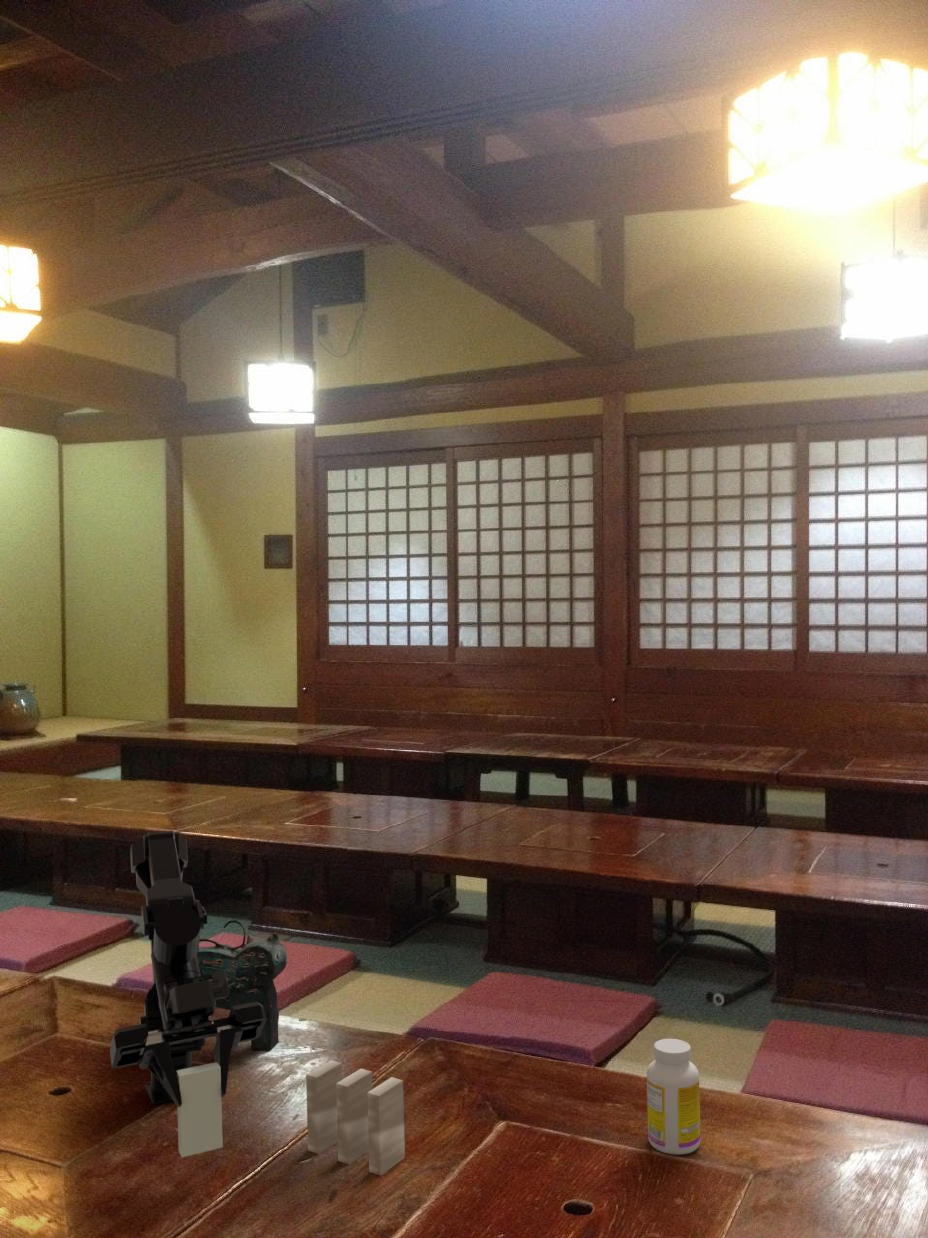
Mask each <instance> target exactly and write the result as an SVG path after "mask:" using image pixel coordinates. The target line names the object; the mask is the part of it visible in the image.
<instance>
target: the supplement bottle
mask: <svg viewBox="0 0 928 1238" xmlns="http://www.w3.org/2000/svg"><path fill="white" fill-rule="evenodd" d="M653 1056H654V1058H655V1060H653V1061H652V1062H650V1063H649V1065H648V1067H647V1070H646V1099H647V1104H646V1106H647V1136H648V1137H647V1138H648V1141H649V1143H650V1145H651V1146H652V1147H653V1148H654V1149H655V1150H657V1151H659V1152H662V1153H664V1154H669V1155H681V1156H682V1155H686V1154H687V1155H688V1154H690V1153H693V1152H694V1151H696V1150H697V1149H698V1148H699V1147H700V1143H701V1106H700V1105H701V1103H700V1102H701V1100H700V1074H699V1073H700V1072H699V1070H698V1068H697V1066H696V1065H695V1064H694V1063H692V1061H690V1060H691V1057H692V1049H691V1045H690V1044H689V1043H688V1042H687V1041H684V1040H682V1039H676V1038H664V1039H660V1040H657V1041H656V1042H654V1043H653Z"/></svg>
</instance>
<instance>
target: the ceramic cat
mask: <svg viewBox="0 0 928 1238" xmlns="http://www.w3.org/2000/svg"><path fill="white" fill-rule="evenodd" d="M232 923H233V924H234V923H236V924H238V925H240V927H241V928H242V930H243V939H242V943H241V944H240V945H238V946H232V945H228V944H222V943H219V942H218V941H215V940H212V939H209V938H200V941H199V943H200V942H201V943H202V942H209V943H211V944H214V945H211V946H199V950H198V953H197V960H198V964H199V969H200V974H201V976H202V977H203V980H204V981H207V980H209V975H210V974H212V973H215V972H221V971H225V973H226V977H227V980H228V986H229V995H228V996H227V997H226V998H222V999H216V1006H214V1007H213V1008H218V1009H223V1010H225V1011H226V1010H227V1011H230V1010H231V1008H232V1006H237V1005H242V1004H247V1003H253V1002H258V1003H260V1004H261V1005H262V1006H263V1007H264V1010H265V1014H266V1018H267V1020H266V1022H265V1025H264V1027H263V1029H262V1032H261V1034H260V1037H258V1038H257V1039H255V1040H250V1047H251V1050H252V1051H259V1050H263V1051H269V1052H270V1051H271V1050H273V1049H274V1048H275V1047H276V1046H277V1044H278V1043H279V1019H280V1011H279V1009H278V992H277V988H276V986H275V982H274V980H275V979H276V978H277V977H278V976H279V975H280V974H281V973H282V972H283V971H284V970H285V968H286V967H287V963H288V953H287V949H286V947H285V946H284V945H283V944H282V943H281V941H280V938H279V934H278V933H277V932H276V931H273V932H272V934H271V935H269V937H268V938H258V939H255V938H254V937H253V936H252V935H251V934H249V933H247V936H246V929H245V925H244V924H243V923H242V922H241V921H239V920H238V919H231V920H228V921H227V922H226V923H225V924H224V926H223V928H224V929H226V927H228V925H229V924H232ZM245 942H246V943H245Z"/></svg>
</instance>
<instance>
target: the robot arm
mask: <svg viewBox="0 0 928 1238" xmlns="http://www.w3.org/2000/svg"><path fill="white" fill-rule="evenodd" d="M187 840H188V839H186V838H185V837H182V836H179V832H178V831H176V832H175V831H174V830H169V831H168V830H167V831H160V832H159V831H156V832H148V833H147V834H144V835H143V838H141V839H139V840H137V841H135V842H133V843H132V844H131V843H130V870H131V871H130V872H131V873H132V874H134V873H135V877H136V878H135V881H136V888H137V889H138V890H139V892H141V893H142V895H143V896H144V897H145V900H146V902H145V903H146V904H145V905H141V927H142V934H143V936H144V937H147V938H148V940H149V941H150V951H151V952H150V959H151V968H152V983H153V984H152V986H151V987H150V988H149V989H148V991H147V993H146V997H145V999H144V1008H143V1009H144V1010H143V1011H144V1012H143V1013H144V1015H142V1016H139V1024H136V1025H135V1024H134V1025H129V1026H125V1027H119V1028H116V1030H115V1032H114V1033H113V1035H112V1038H111V1042H110V1048H109V1056H110V1057H109V1058H110V1063H111V1068H112V1069H121V1068H124V1067H130V1066H135V1065H138V1064H139V1069H140V1070H149V1071H150V1082H147V1083H145V1084H144V1088H145V1090H146V1093H147V1094H148V1097H149V1098H150V1100H151V1103H152V1104H153V1105H158V1104H163V1103H167V1102H172V1101H173V1102H174V1104H175V1105H176V1107H181V1105H182V1099H181V1092H180V1088H179V1084H178V1081H177V1076H176V1071H177V1070H181V1069H186V1068H191V1067H192V1052H201V1051H202V1048H203V1047H204V1046H205V1045H206V1041H205V1040H206V1038H207V1039H208V1038H212V1037H214V1039H215V1045H214V1047H213V1051H212V1052H213V1059H214V1062H217V1063H218V1064H219V1066H220V1067H221V1098H225V1097H226V1093H227V1087H228V1077H229V1076H228V1075H229V1074H228V1073H229V1067H230V1058H231V1055H232V1051H235V1050H236V1049H237V1048H238V1046H239V1043H240V1044H241V1043H246V1042H249V1041H250V1042H251V1040H255V1039H257V1038H258V1037H260V1034H261V1032H262V1029H263V1027H264V1025H265V1022H266V1020H267V1018H266V1014H265V1010H264V1007H263V1006H262V1005H261V1004H260V1003H258V1002H253V1003H247V1004H242V1005H237V1006H232V1008H231V1010H229V1013H228V1015H227V1017H223V1018H217V1019H212V1020H211V1018H210V1016H214V1013H215V1009H214V1008H215V1007H214V1006H216V999H222V998H226V997H227V996H228V995H229V986H228V980H227V977H226V973H225V971H221V972H215V973H212V974H210V975H209V980H207V981H204V980H203V977H202V976H201V974H200V969H199V964H198V960H197V953H198V950H199V947H200V942H199V941H200V939H201V930H204V925H207V924H208V914H207V911H206V910H205V907H203V906H202V903H201V901H200V899H196V897H195V894H194V890H193V886H192V885H190V884H188V883H186V882H184V881H183V878H184V877H183V875H184V874H183V873H184V868H187V866H188V863H189V858H188V857H189V855H188V843H187Z"/></svg>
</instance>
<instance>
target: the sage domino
mask: <svg viewBox="0 0 928 1238" xmlns="http://www.w3.org/2000/svg"><path fill="white" fill-rule="evenodd" d="M176 1076H177V1081H178V1084H179V1088H180V1092H181V1099H182V1105H181V1107H177V1106H176V1107H177V1139H178V1141H177V1142H178V1153H179V1154H180V1156H181V1158H185V1157H189V1156H194V1155H198V1154H200V1153H201V1154H202V1153H206V1152H209V1151H214V1150H219V1149H221V1148H223V1147H224V1145H223V1137H224V1136H223V1110H222V1109H223V1105H222V1104H223V1103H222V1097H221V1067H220V1066H219V1064H218V1063H217V1062H215V1061H214V1062H210V1063H205V1064H199V1065H196V1066H191V1068H186V1069H181V1070H177V1071H176Z"/></svg>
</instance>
